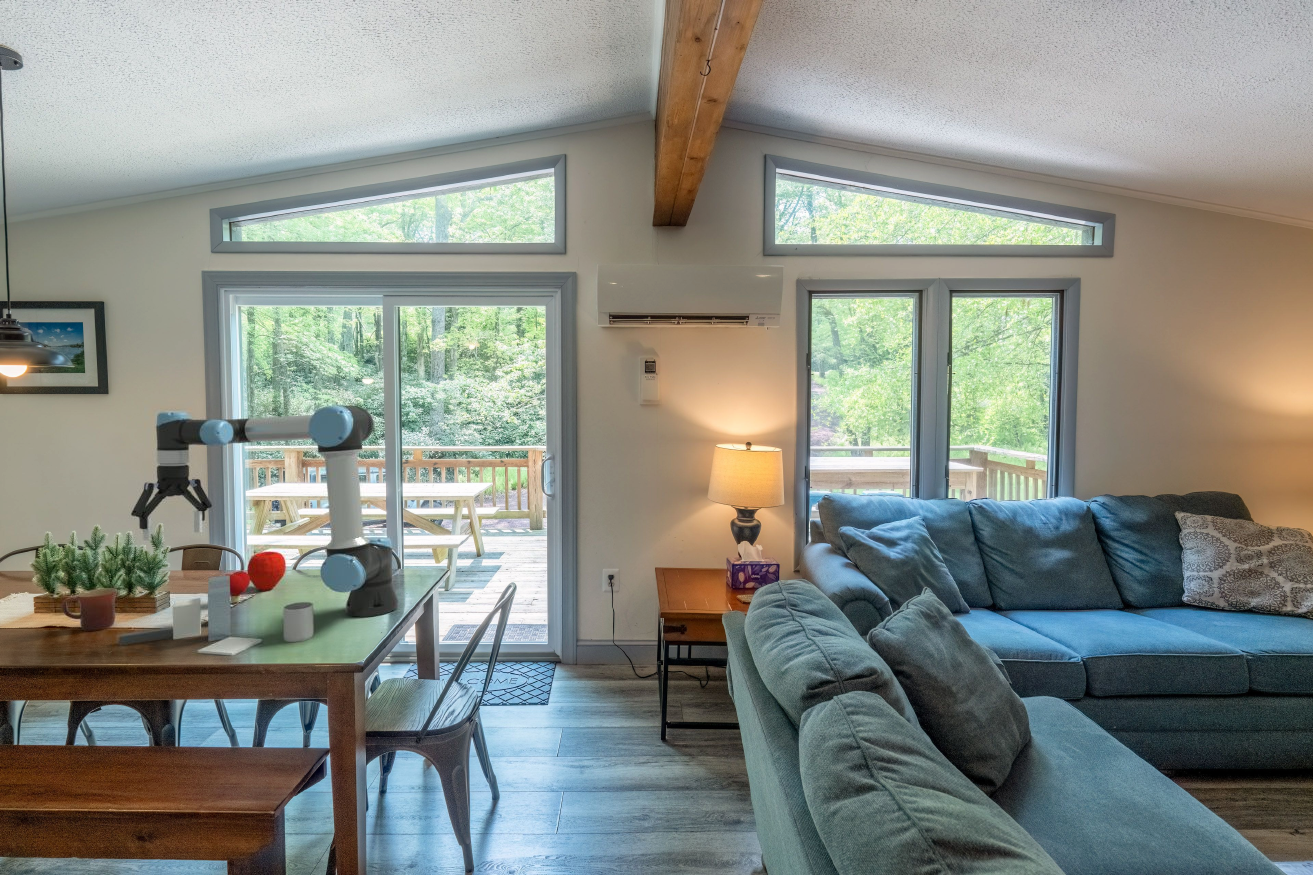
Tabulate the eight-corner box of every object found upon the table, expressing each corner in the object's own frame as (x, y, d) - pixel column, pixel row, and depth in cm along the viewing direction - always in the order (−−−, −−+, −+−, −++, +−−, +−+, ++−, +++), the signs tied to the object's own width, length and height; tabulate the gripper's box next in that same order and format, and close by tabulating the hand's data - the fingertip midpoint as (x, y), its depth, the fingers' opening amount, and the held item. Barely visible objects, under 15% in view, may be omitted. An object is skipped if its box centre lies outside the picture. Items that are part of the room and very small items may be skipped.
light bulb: (232, 608, 199) (231, 577, 198) (213, 606, 200) (213, 575, 200) (256, 599, 208) (256, 569, 207) (238, 598, 209) (238, 568, 209)
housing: (230, 617, 190) (229, 575, 189) (230, 637, 173) (230, 591, 173) (210, 620, 187) (209, 577, 186) (208, 641, 170) (207, 594, 170)
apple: (293, 587, 222) (293, 550, 221) (257, 596, 212) (257, 556, 211) (276, 582, 228) (275, 546, 228) (240, 590, 218) (240, 552, 218)
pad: (261, 641, 171) (261, 639, 171) (232, 655, 161) (231, 653, 161) (229, 638, 172) (229, 636, 172) (197, 652, 162) (197, 650, 162)
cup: (281, 643, 169) (281, 611, 169) (287, 631, 178) (287, 600, 178) (311, 640, 172) (311, 608, 172) (316, 628, 181) (315, 598, 181)
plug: (118, 647, 165) (117, 614, 165) (121, 640, 170) (120, 608, 170) (200, 635, 175) (199, 603, 175) (201, 628, 180) (200, 597, 180)
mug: (122, 620, 186) (121, 586, 186) (113, 630, 178) (112, 594, 178) (69, 626, 180) (68, 591, 180) (57, 636, 173) (56, 599, 172)
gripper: (209, 461, 197) (209, 527, 198) (115, 466, 174) (116, 542, 175) (225, 462, 194) (225, 530, 195) (131, 468, 171) (131, 545, 172)
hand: (173, 536), depth 185 cm, fingers open, 13 cm apart
